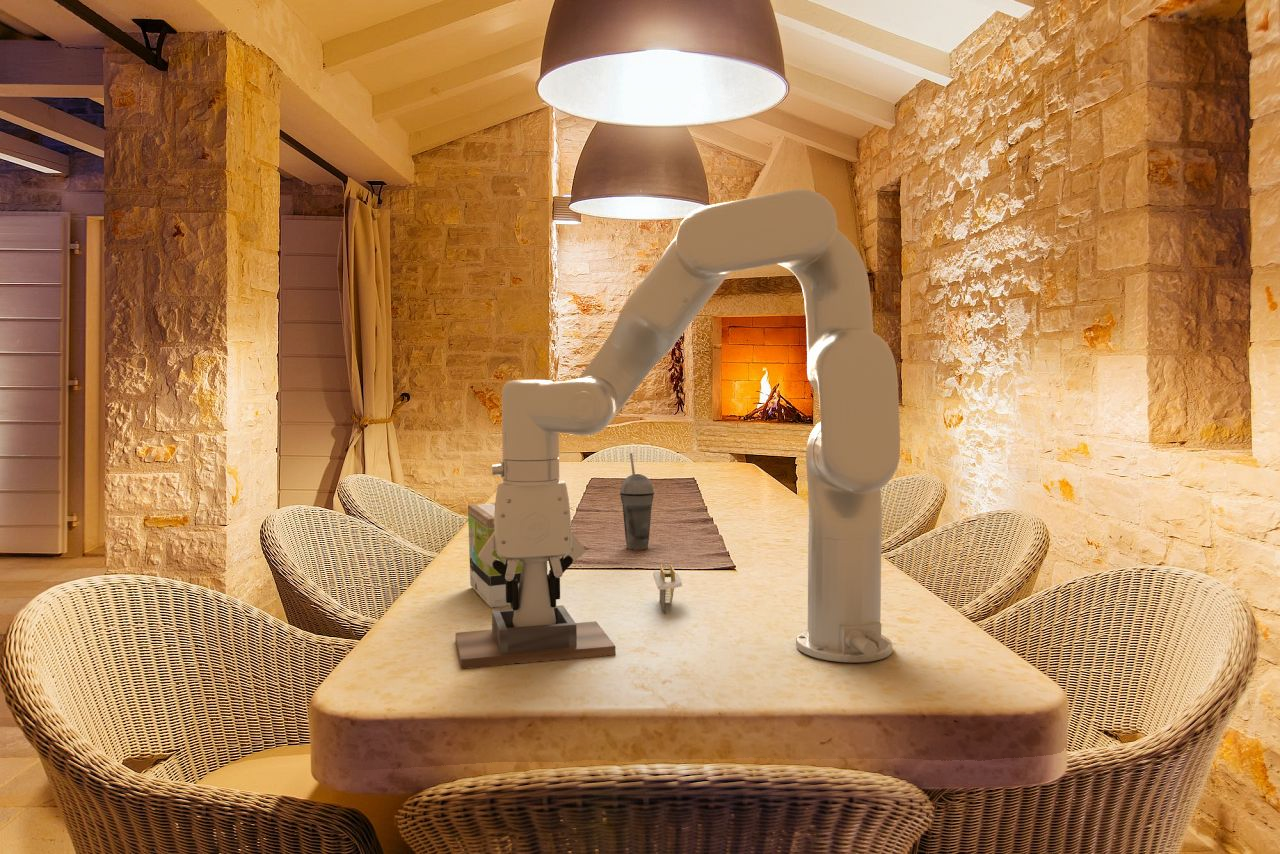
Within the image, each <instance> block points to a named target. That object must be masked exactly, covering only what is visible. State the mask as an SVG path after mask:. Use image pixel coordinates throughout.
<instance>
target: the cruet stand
mask: <svg viewBox="0 0 1280 854" xmlns="http://www.w3.org/2000/svg"><path fill="white" fill-rule="evenodd" d="M554 613H555V618H556V624H550V625H537V626H524V627H514V625H513V616H514V610H513V609H512V608H510V609H509V608H508V609H506V608H505V609H497V610H496V609H495V610H491V622H492V625H491V626H492V628H491V629H486V630H473V631H460V632H459V631H457V632H455V634H454V635H455V645H456V650H457V655H458V659H459V663H460V668H465V669H469V668H468V667H476V668H482V667H481V666H487V667H496V666H495V665H498V666H505V665H504V664H509V665H515V664H514V663H520V664H527V663H526V662H532V663H538V662H537V661H543V662H549V661H548V660H554V661H560V660H559V659H565V660H573V659H572V658H576V659H585V658H584V657H587V658H596V656H598V657H607V655H609V656H615V655H616V654H617V653H616V652H617V651H616V645H615V643H614V642H613V641H612V639H610V637H609V636H608V635H607V633H606V632H605V630H603V628H602V627H601V626H600V624H599V623H598V622H597V621H586V622H585V621H583V622H575V620H574V619H573V618H572V616H571V615H570V613H569V611H568V610H567V609H566V607H565V606H564V605H563V604H562V605H556V607H554Z"/></svg>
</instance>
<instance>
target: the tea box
mask: <svg viewBox="0 0 1280 854" xmlns="http://www.w3.org/2000/svg"><path fill="white" fill-rule="evenodd" d="M494 511H495V502H490V503H481V504H469V505H468V506H467V523H468V548H469V549H468V552H469V554H468V555H469V557H468V558H469V581H470V582H469V583H470V586H471V588H472V589H473V590H474V591H475V592H476V594H478V596H479V597H480V598H481V599H482V600H484V602H485V603H486V604H487V606H489V608H491V609H492V608H493V607H495V608H501V607H511V604H510V603H507V602H506V580H505V578H504V577H503V576H502V575H501V574H500V573H499V572H497V571H496V570H495V569H494V568H493V567H491V566H490V565H488V564H486V563H485V562H483V561H482V560H480V558H479V553H480V551H481V550H482V548H483V547H484V545H485V544H486V542H487V541H488V540H489V538H490V537H491V535H492V534H493V532H494ZM492 555H493V556H494V557H496V558H497V559H499V560H500V561H502V562H503V563H504V564H505V559H503V558H501V557H499V556H498V555H497V553H496V550H495V549H494V551H493V552H492ZM522 565H523V562H522V561H520V560H519V559H518V561H517V566H516V570H515V575H516V579H517V581H518V588H519V582H520V576H521V571H522ZM546 568H547V569H548V561H547V562H546ZM493 609H494V608H493Z"/></svg>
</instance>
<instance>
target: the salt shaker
mask: <svg viewBox="0 0 1280 854" xmlns="http://www.w3.org/2000/svg"><path fill="white" fill-rule="evenodd" d="M519 560H520V561H522V562H523V565H522V571H521V576H520V582H519V588H518V609H517V610H514V616H513V625H514V627H524V626H537V625H550V624H556V618H555V613H554V607H551V602H550V588H549V581H548V567H547V568H546V562H547V563H548V562H549V561H548V560H550V559H549V558H535V559H519Z"/></svg>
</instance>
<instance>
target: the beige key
mask: <svg viewBox="0 0 1280 854" xmlns="http://www.w3.org/2000/svg"><path fill="white" fill-rule="evenodd" d="M665 566H669V571H665ZM652 577H653V579H654V582H655V585H656V588H657V589H658V590H659V603H660V605H661V609H662V612H663V615H666V603H669V605H671V604H672V603H673V597H674V593H675V589H676V588H680V587H682V586H683V581H682V580H681V577H680V576H679V573H678V572H676V571H675V569H674V568H673V565H672V564H671V563H669V564H667V563H666V564H665V563H664V564H660V569H659V570H658V571H655V570H654V571H652ZM665 578H670V581H666V579H665Z"/></svg>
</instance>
